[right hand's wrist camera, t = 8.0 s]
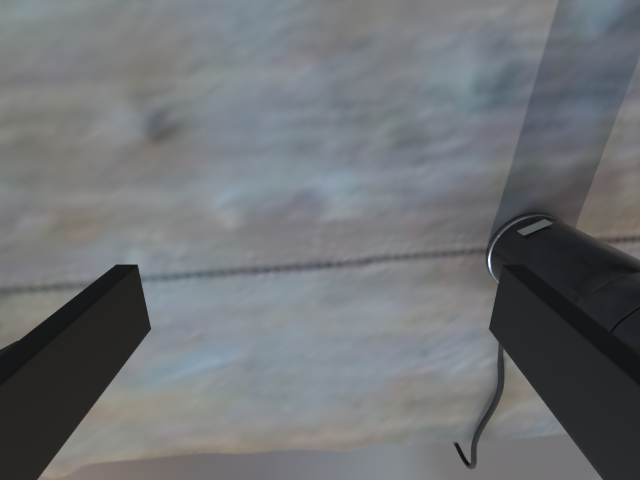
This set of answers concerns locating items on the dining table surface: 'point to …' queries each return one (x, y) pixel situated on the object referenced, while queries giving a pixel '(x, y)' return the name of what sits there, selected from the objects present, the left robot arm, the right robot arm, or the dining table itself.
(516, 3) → the dining table surface
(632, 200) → the dining table surface
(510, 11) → the dining table surface
